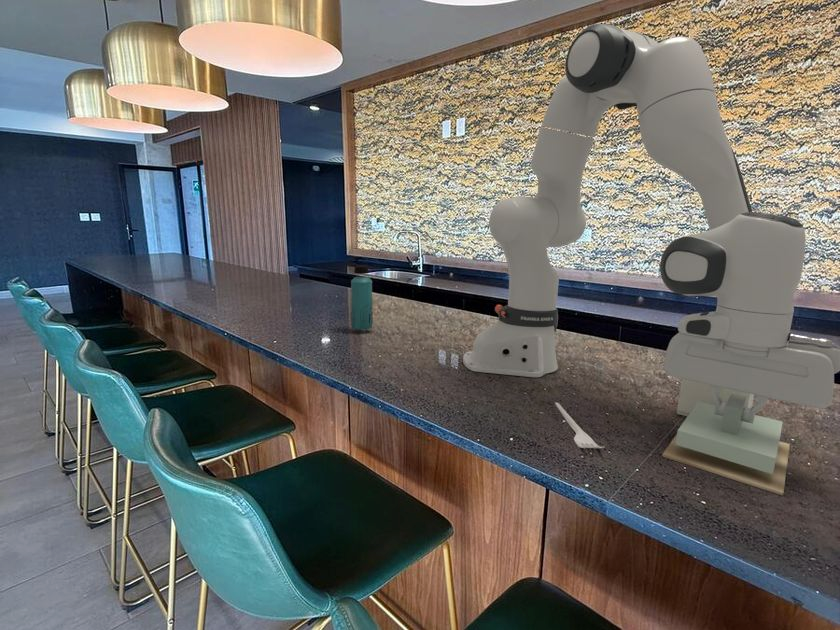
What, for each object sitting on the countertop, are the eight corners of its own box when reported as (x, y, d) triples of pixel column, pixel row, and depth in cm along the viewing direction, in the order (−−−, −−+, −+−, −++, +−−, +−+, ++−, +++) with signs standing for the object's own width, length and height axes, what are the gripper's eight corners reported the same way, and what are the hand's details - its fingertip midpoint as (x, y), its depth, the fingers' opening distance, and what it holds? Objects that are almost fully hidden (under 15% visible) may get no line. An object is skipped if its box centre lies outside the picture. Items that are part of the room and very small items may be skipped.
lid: (772, 474, 59) (782, 429, 57) (675, 444, 66) (681, 404, 65) (780, 435, 70) (788, 397, 69) (696, 413, 77) (702, 378, 76)
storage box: (742, 430, 75) (750, 391, 74) (676, 413, 82) (682, 377, 80) (751, 407, 86) (758, 372, 84) (692, 393, 92) (697, 360, 91)
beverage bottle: (371, 335, 132) (371, 267, 128) (348, 334, 132) (348, 266, 128) (373, 329, 138) (374, 265, 134) (352, 329, 138) (352, 264, 134)
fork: (564, 406, 85) (565, 397, 85) (606, 458, 66) (607, 446, 65) (547, 406, 85) (548, 396, 85) (584, 457, 66) (585, 446, 65)
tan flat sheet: (782, 495, 57) (783, 492, 57) (662, 456, 66) (662, 453, 66) (789, 446, 70) (789, 444, 70) (688, 419, 79) (688, 417, 79)
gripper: (847, 338, 60) (825, 433, 63) (676, 314, 73) (664, 394, 76) (850, 346, 55) (826, 449, 58) (667, 319, 68) (654, 404, 71)
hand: (733, 417), depth 67 cm, fingers closed on lid
